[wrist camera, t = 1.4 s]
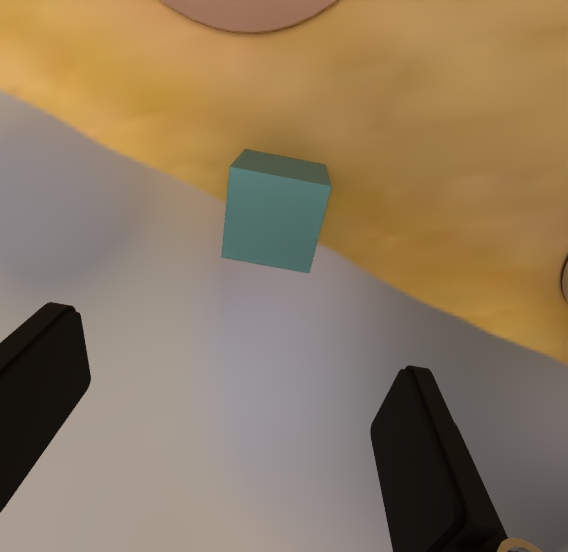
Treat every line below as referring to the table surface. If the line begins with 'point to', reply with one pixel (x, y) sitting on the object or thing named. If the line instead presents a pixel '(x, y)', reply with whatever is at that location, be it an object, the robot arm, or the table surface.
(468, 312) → the table surface
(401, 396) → the robot arm
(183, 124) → the table surface
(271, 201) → the teal block
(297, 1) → the terracotta disc
